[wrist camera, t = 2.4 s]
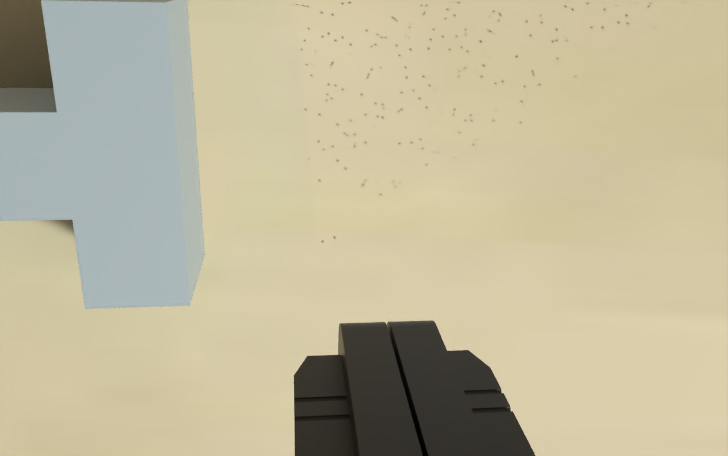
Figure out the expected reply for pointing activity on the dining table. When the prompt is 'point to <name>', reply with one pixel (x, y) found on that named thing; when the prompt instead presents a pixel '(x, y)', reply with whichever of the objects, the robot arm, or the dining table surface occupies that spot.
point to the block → (112, 149)
